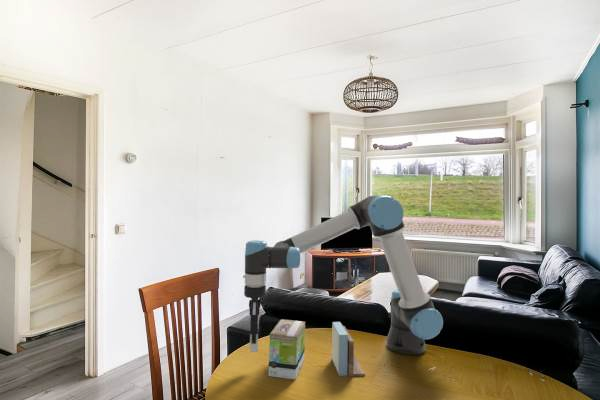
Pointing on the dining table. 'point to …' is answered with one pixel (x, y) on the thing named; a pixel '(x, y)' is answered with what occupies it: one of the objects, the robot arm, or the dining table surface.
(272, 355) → the tea box
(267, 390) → the dining table surface
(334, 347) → the book
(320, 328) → the dining table surface
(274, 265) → the robot arm
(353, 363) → the bookend
